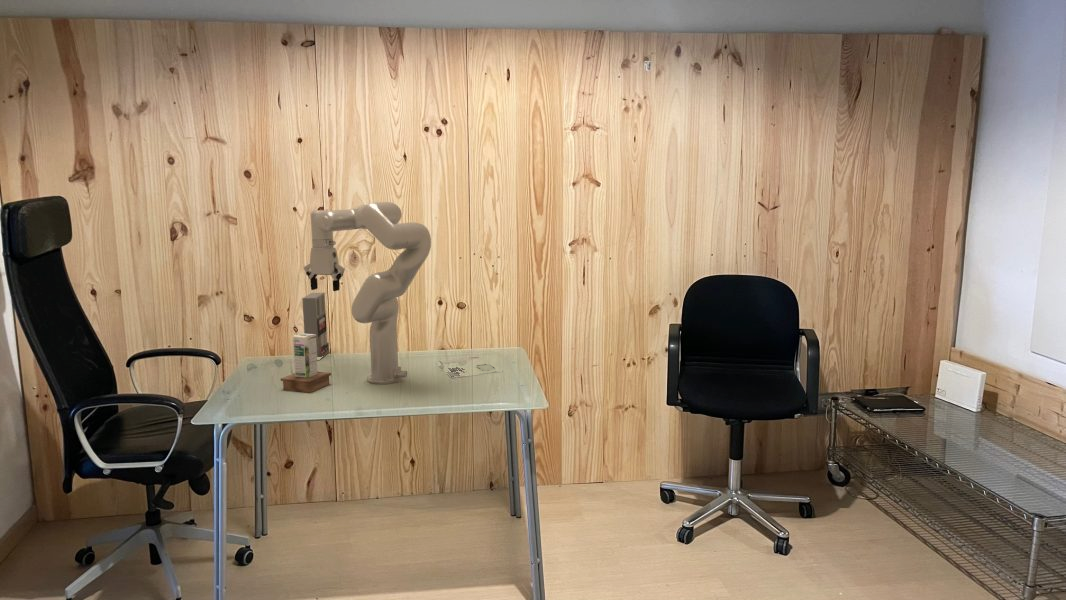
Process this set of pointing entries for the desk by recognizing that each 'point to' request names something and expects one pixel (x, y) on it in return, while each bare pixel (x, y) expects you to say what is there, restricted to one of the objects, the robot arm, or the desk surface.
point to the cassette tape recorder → (316, 320)
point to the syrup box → (305, 355)
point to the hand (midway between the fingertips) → (325, 290)
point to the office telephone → (456, 367)
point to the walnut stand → (306, 382)
